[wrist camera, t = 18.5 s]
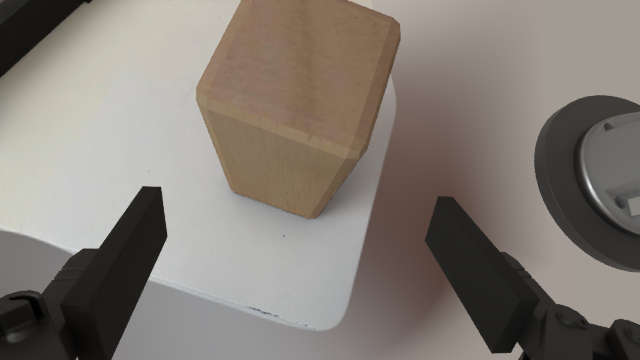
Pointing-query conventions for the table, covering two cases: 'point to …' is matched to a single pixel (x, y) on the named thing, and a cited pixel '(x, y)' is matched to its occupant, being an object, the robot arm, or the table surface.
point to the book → (28, 25)
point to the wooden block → (296, 97)
